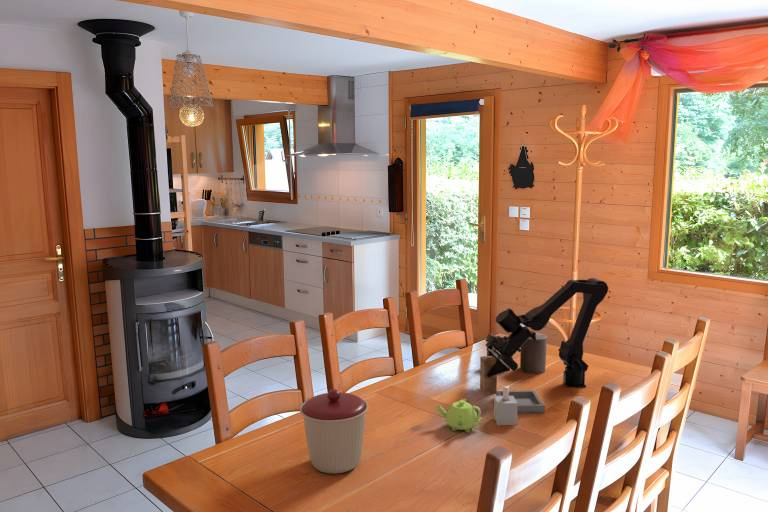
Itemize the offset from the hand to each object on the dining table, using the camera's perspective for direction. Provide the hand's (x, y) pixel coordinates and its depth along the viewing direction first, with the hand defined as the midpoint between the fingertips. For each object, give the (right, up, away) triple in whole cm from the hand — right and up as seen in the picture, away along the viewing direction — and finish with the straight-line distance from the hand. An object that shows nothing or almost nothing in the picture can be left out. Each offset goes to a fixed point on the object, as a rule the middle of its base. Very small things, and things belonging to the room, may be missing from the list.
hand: (484, 373), depth 215 cm
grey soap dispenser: (+3, -10, -23) cm, 26 cm away
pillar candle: (+22, -3, +22) cm, 32 cm away
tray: (+10, -8, -12) cm, 18 cm away
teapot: (-12, -11, -27) cm, 32 cm away
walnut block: (+1, -6, +1) cm, 7 cm away
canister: (-48, -15, -49) cm, 71 cm away
